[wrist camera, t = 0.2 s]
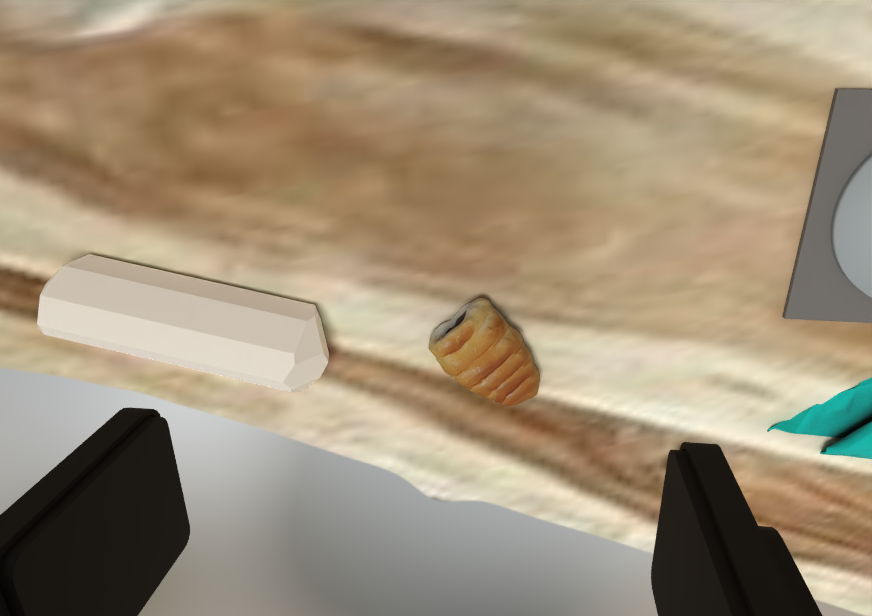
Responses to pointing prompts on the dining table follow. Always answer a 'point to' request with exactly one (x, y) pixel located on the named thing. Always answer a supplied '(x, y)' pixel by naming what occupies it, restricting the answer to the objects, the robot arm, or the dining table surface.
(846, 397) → the cloth
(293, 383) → the crystal
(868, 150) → the mat
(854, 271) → the lid
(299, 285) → the dining table surface
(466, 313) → the pastry
